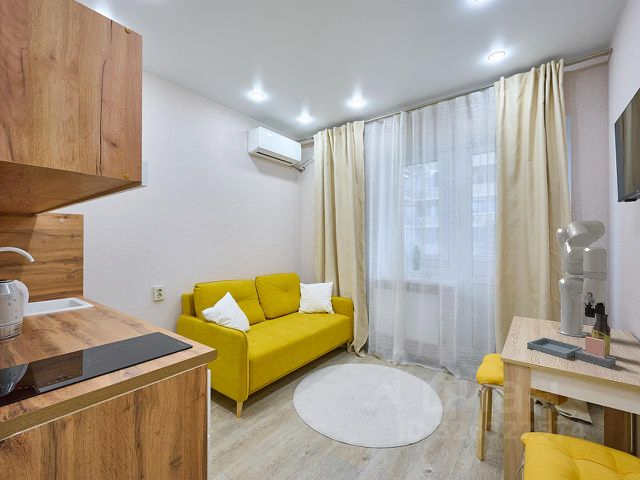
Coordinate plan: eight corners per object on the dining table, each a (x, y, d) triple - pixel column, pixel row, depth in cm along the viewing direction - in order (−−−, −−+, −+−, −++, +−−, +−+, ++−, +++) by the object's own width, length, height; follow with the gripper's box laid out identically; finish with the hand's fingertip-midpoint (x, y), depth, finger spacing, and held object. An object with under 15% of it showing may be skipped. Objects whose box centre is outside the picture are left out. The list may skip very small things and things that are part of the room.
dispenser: (582, 356, 133) (582, 348, 133) (615, 366, 123) (615, 356, 123) (574, 359, 129) (574, 351, 129) (608, 369, 120) (608, 360, 120)
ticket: (586, 358, 129) (586, 336, 129) (604, 363, 124) (604, 340, 124) (585, 359, 128) (585, 336, 128) (603, 364, 123) (603, 341, 123)
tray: (543, 343, 150) (543, 337, 150) (582, 353, 136) (582, 347, 136) (527, 348, 143) (527, 342, 143) (565, 360, 129) (565, 353, 129)
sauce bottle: (587, 353, 137) (587, 311, 136) (599, 352, 137) (599, 310, 137) (602, 359, 130) (601, 314, 130) (614, 358, 131) (614, 314, 130)
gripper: (592, 274, 133) (592, 311, 133) (574, 276, 125) (574, 316, 125) (614, 275, 127) (615, 315, 127) (597, 278, 118) (597, 320, 118)
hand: (595, 315), depth 126 cm, fingers open, 9 cm apart
